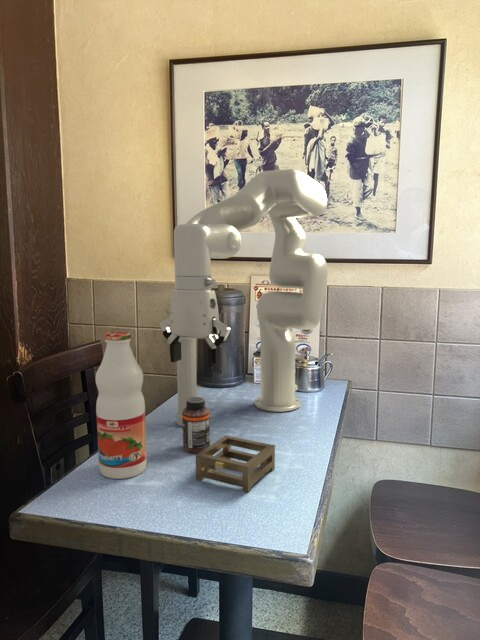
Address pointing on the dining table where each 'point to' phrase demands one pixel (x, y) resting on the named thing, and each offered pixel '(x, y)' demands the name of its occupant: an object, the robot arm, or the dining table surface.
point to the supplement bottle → (196, 425)
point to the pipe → (186, 374)
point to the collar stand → (235, 462)
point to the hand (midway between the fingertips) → (194, 363)
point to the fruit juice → (120, 410)
